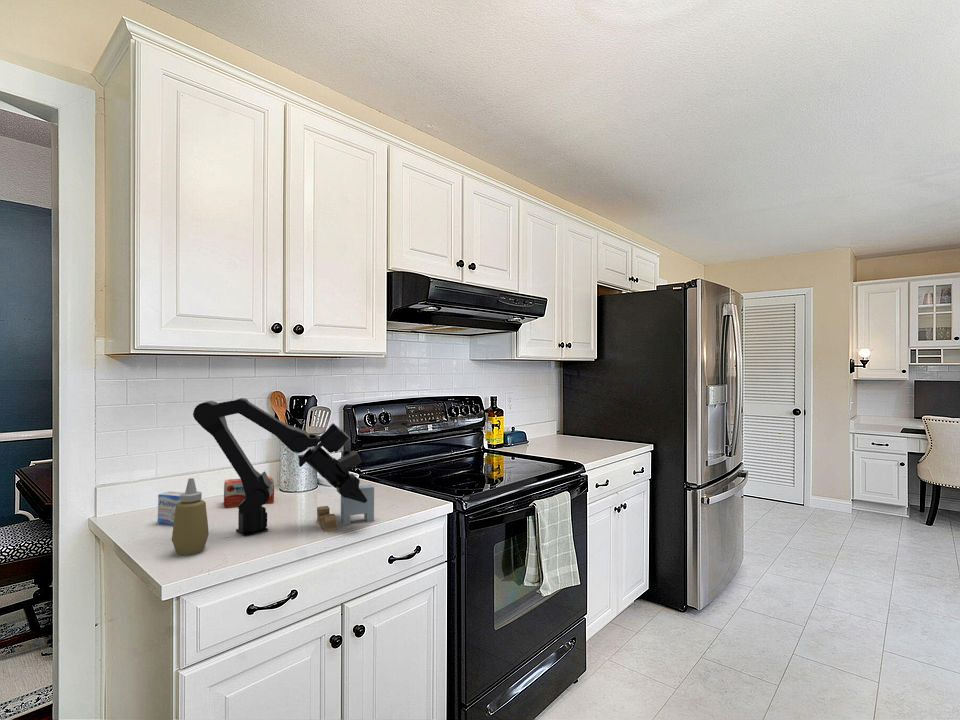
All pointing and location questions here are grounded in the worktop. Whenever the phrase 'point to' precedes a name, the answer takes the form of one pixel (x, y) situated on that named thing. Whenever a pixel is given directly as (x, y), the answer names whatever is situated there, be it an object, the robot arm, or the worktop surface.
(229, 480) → the medicine box
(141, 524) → the worktop surface
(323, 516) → the tan stepped bar
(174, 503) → the medicine box
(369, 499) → the grey slotted plate
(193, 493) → the squeeze bottle
